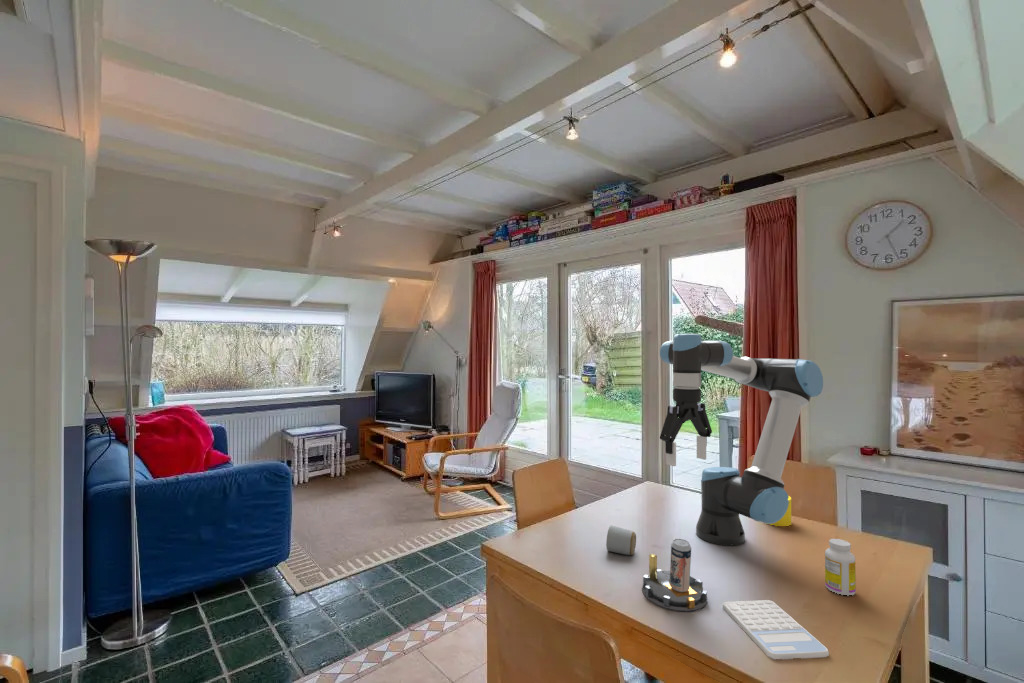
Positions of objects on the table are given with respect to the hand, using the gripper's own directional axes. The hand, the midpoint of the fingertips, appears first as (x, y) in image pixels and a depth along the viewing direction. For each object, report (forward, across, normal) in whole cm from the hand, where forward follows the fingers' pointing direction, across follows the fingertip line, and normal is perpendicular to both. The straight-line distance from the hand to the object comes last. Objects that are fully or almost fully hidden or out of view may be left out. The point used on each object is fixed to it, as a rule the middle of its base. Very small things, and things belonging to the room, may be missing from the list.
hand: (686, 461), depth 133 cm
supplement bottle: (+32, -26, +28) cm, 50 cm away
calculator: (+32, +6, +27) cm, 43 cm away
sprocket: (+32, +12, +6) cm, 34 cm away
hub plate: (+32, +12, +6) cm, 34 cm away
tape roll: (+32, -60, -7) cm, 69 cm away
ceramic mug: (+32, +5, -20) cm, 38 cm away
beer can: (+29, +14, +8) cm, 33 cm away
